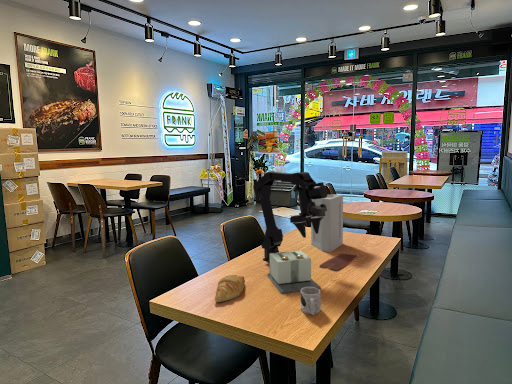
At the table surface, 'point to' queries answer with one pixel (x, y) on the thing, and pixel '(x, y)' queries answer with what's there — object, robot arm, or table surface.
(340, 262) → the wooden tablet
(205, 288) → the table surface
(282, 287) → the base plate
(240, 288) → the croissant
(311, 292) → the mug
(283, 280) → the two-slot toaster
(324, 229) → the paper bag
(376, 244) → the table surface
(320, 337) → the table surface
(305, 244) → the table surface
